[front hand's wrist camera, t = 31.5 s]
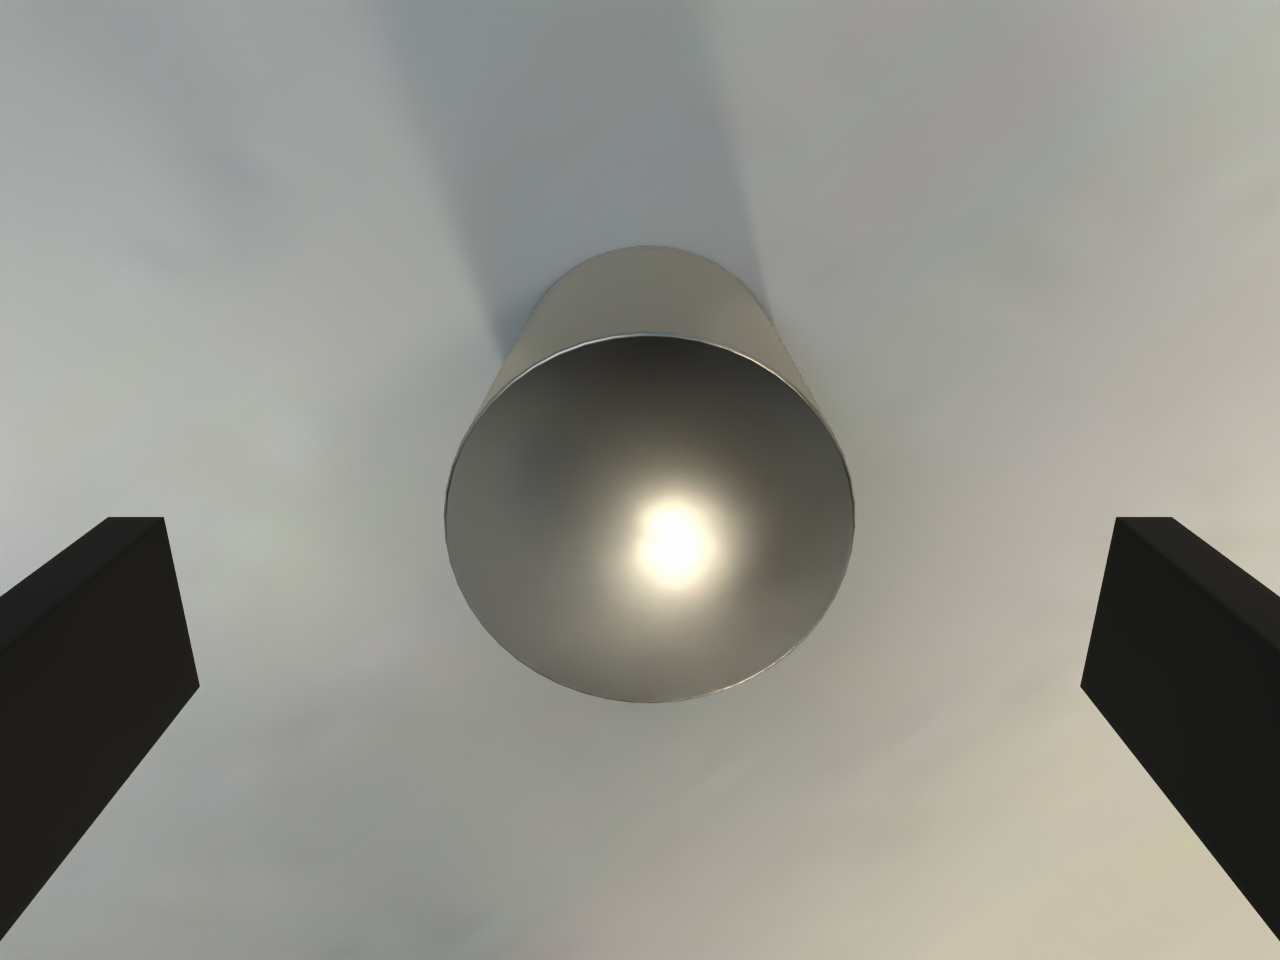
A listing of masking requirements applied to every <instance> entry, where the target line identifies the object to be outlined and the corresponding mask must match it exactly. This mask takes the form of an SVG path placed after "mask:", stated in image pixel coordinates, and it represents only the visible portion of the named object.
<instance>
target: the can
mask: <svg viewBox="0 0 1280 960" xmlns="http://www.w3.org/2000/svg"><path fill="white" fill-rule="evenodd" d="M444 526H445V540H446V545H447V550H448V555H449V559H450V564H451V566H452V569H453V572H454V575H455V578H456V580H457V583H458V586H459V588H460V590H461V591H462V593H463V595H464V597H465V599H466V601H467V603H468V605H469V607H470V608H471V610H472V611H473V613H474V614H475V615H476V617H477V618H478V620H479V621H480V623H481V624H482V625H483V627H484V628H485V629H486V630H487V631H488V632H489V633H490V634H491V636H492V637H493V638H494V639H495V640H496V641H497V642H498V643H499V644H500V645H501V646H502V647H503V648H504V649H506V650H507V651H508V652H509V653H510V654H511V655H513V656H514V657H515V658H516V659H517V660H519V661H520V662H522V663H523V664H525V665H526V666H528V667H529V668H531V669H532V670H534V671H535V672H537V673H538V674H540V675H542V676H544V677H546V678H548V679H550V680H552V681H554V682H556V683H558V684H560V685H563V686H565V687H568V688H571V689H573V690H576V691H579V692H581V693H585V694H589V695H593V696H597V697H601V698H605V699H611V700H618V701H625V702H639V703H661V702H674V701H682V700H688V699H693V698H698V697H703V696H707V695H710V694H713V693H717V692H720V691H723V690H726V689H729V688H731V687H733V686H736V685H738V684H740V683H743V682H745V681H747V680H750V679H751V678H753V677H755V676H757V675H758V674H760V673H762V672H763V671H765V670H767V669H769V668H770V667H772V666H773V665H774V664H776V663H777V662H778V661H780V660H781V659H782V658H784V657H785V656H786V655H788V654H789V653H790V652H791V651H792V650H793V649H795V648H796V647H797V646H798V645H799V644H800V643H801V642H802V641H803V640H804V639H805V638H806V637H807V636H808V635H809V634H810V632H811V631H812V630H813V629H814V627H815V626H816V625H817V624H818V622H819V621H820V620H821V619H822V618H823V616H824V614H825V613H826V611H827V609H828V608H829V606H830V604H831V603H832V601H833V600H834V598H835V596H836V594H837V592H838V589H839V587H840V585H841V583H842V580H843V578H844V576H845V573H846V570H847V566H848V563H849V559H850V556H851V552H852V546H853V538H854V531H855V501H854V495H853V488H852V482H851V477H850V474H849V471H848V467H847V464H846V461H845V458H844V455H843V452H842V450H841V448H840V446H839V444H838V442H837V440H836V438H835V436H834V434H833V432H832V430H831V428H830V426H829V425H828V423H827V421H826V419H825V417H824V416H823V414H822V412H821V410H820V408H819V407H818V405H817V403H816V401H815V400H814V398H813V396H812V394H811V392H810V391H809V389H808V387H807V385H806V384H805V382H804V380H803V378H802V376H801V375H800V373H799V371H798V369H797V367H796V366H795V364H794V362H793V360H792V359H791V357H790V355H789V353H788V351H787V350H786V348H785V346H784V344H783V343H782V341H781V339H780V337H779V335H778V334H777V332H776V330H775V328H774V326H773V325H772V323H771V321H770V319H769V318H768V316H767V314H766V312H765V311H764V309H763V308H762V306H761V305H760V303H759V302H758V300H757V299H756V298H755V296H754V295H753V294H752V293H751V292H750V291H749V290H748V289H747V287H746V286H745V285H744V284H743V283H741V282H740V281H739V280H738V279H737V278H736V277H734V276H733V275H732V274H731V273H730V272H728V271H726V270H725V269H723V268H722V267H720V266H719V265H717V264H715V263H714V262H711V261H709V260H707V259H705V258H703V257H701V256H698V255H695V254H692V253H689V252H686V251H682V250H678V249H672V248H666V247H649V246H642V247H632V248H624V249H620V250H616V251H612V252H607V253H605V254H602V255H600V256H597V257H595V258H592V259H590V260H588V261H586V262H584V263H582V264H581V265H579V266H577V267H575V268H574V269H572V270H571V271H569V272H568V273H567V274H565V275H564V276H563V277H561V278H560V279H559V280H558V281H557V282H556V283H555V284H554V285H553V286H552V287H551V288H550V289H549V290H548V291H547V292H546V293H545V294H544V296H543V297H542V298H541V300H540V301H539V302H538V303H537V305H536V306H535V308H534V310H533V311H532V313H531V315H530V317H529V318H528V320H527V322H526V324H525V326H524V327H523V329H522V331H521V333H520V335H519V337H518V338H517V340H516V342H515V344H514V346H513V348H512V349H511V351H510V353H509V355H508V357H507V359H506V361H505V362H504V364H503V366H502V368H501V370H500V372H499V373H498V375H497V377H496V379H495V381H494V383H493V385H492V386H491V388H490V390H489V392H488V394H487V396H486V397H485V399H484V401H483V403H482V405H481V407H480V409H479V410H478V412H477V414H476V416H475V418H474V420H473V421H472V423H471V425H470V427H469V429H468V431H467V432H466V434H465V436H464V438H463V440H462V442H461V444H460V446H459V449H458V451H457V454H456V456H455V459H454V462H453V464H452V467H451V471H450V475H449V479H448V484H447V488H446V495H445V507H444Z"/></svg>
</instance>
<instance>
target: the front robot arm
mask: <svg viewBox="0 0 1280 960" xmlns="http://www.w3.org/2000/svg"><path fill="white" fill-rule="evenodd" d="M199 687H200V685H199V681H198V676H197V671H196V667H195V662H194V657H193V652H192V648H191V643H190V638H189V634H188V629H187V624H186V619H185V615H184V610H183V605H182V601H181V596H180V591H179V587H178V582H177V577H176V572H175V568H174V563H173V558H172V554H171V549H170V544H169V539H168V535H167V530H166V525H165V521H164V517H108V518H106V519H105V520H104V521H102V522H101V523H100V524H98V525H97V526H96V527H94V528H93V529H91V530H90V531H89V532H87V533H86V534H85V535H83V536H82V537H81V538H79V539H78V540H77V541H75V542H74V543H73V544H71V545H70V546H68V547H67V548H66V549H64V550H63V551H62V552H60V553H59V554H58V555H56V556H55V557H54V558H52V559H51V560H50V561H48V562H47V563H45V564H44V565H43V566H41V567H40V568H39V569H37V570H36V571H35V572H33V573H32V574H31V575H29V576H28V577H26V578H25V579H24V580H22V581H21V582H20V583H18V584H17V585H16V586H14V587H13V588H12V589H10V590H9V591H8V592H6V593H5V594H3V595H2V596H1V597H0V941H1V939H2V938H3V937H4V936H5V934H6V933H7V932H8V931H9V929H10V928H11V927H12V925H13V924H14V923H15V922H16V920H17V919H18V918H19V917H20V915H21V914H22V913H23V911H24V910H25V909H26V908H27V906H28V905H29V904H30V902H31V901H32V900H33V899H34V897H35V896H36V895H37V894H38V892H39V891H40V890H41V888H42V887H43V886H44V885H45V883H46V882H47V881H48V879H49V878H50V877H51V876H52V874H53V873H54V872H55V871H56V869H57V868H58V867H59V865H60V864H61V863H62V862H63V860H64V859H65V858H66V856H67V855H68V854H69V853H70V851H71V850H72V849H73V848H74V846H75V845H76V844H77V842H78V841H79V840H80V839H81V837H82V836H83V835H84V834H85V832H86V831H87V830H88V828H89V827H90V826H91V825H92V823H93V822H94V821H95V819H96V818H97V817H98V816H99V814H100V813H101V812H102V811H103V809H104V808H105V807H106V805H107V804H108V803H109V802H110V800H111V799H112V798H113V796H114V795H115V794H116V793H117V791H118V790H119V789H120V788H121V786H122V785H123V784H124V782H125V781H126V780H127V779H128V777H129V776H130V775H131V774H132V772H133V771H134V770H135V768H136V767H137V766H138V765H139V763H140V762H141V761H142V759H143V758H144V757H145V756H146V754H147V753H148V752H149V751H150V749H151V748H152V747H153V745H154V744H155V743H156V742H157V740H158V739H159V738H160V736H161V735H162V734H163V733H164V731H165V730H166V729H167V728H168V726H169V725H170V724H171V722H172V721H173V720H174V719H175V717H176V716H177V715H178V714H179V712H180V711H181V710H182V708H183V707H184V706H185V705H186V703H187V702H188V701H189V699H190V698H191V697H192V696H193V694H194V693H195V692H196V691H197V689H198V688H199ZM1080 687H1081V688H1082V689H1083V691H1084V692H1085V693H1086V694H1087V696H1088V697H1089V698H1090V699H1091V701H1092V702H1093V703H1094V705H1095V706H1096V707H1097V708H1098V710H1099V711H1100V712H1101V714H1102V715H1103V716H1104V717H1105V719H1106V720H1107V721H1108V722H1109V724H1110V725H1111V726H1112V728H1113V729H1114V730H1115V731H1116V733H1117V734H1118V735H1119V736H1120V738H1121V739H1122V740H1123V742H1124V743H1125V744H1126V745H1127V747H1128V748H1129V749H1130V751H1131V752H1132V753H1133V754H1134V756H1135V757H1136V758H1137V759H1138V761H1139V762H1140V763H1141V765H1142V766H1143V767H1144V768H1145V770H1146V771H1147V772H1148V774H1149V775H1150V776H1151V777H1152V779H1153V780H1154V781H1155V782H1156V784H1157V785H1158V786H1159V788H1160V789H1161V790H1162V791H1163V793H1164V794H1165V795H1166V796H1167V798H1168V799H1169V800H1170V802H1171V803H1172V804H1173V805H1174V807H1175V808H1176V809H1177V811H1178V812H1179V813H1180V814H1181V816H1182V817H1183V818H1184V819H1185V821H1186V822H1187V823H1188V825H1189V826H1190V827H1191V828H1192V830H1193V831H1194V832H1195V834H1196V835H1197V836H1198V837H1199V839H1200V840H1201V841H1202V842H1203V844H1204V845H1205V846H1206V848H1207V849H1208V850H1209V851H1210V853H1211V854H1212V855H1213V856H1214V858H1215V859H1216V860H1217V862H1218V863H1219V864H1220V865H1221V867H1222V868H1223V869H1224V871H1225V872H1226V873H1227V874H1228V876H1229V877H1230V878H1231V879H1232V881H1233V882H1234V883H1235V885H1236V886H1237V887H1238V888H1239V890H1240V891H1241V892H1242V894H1243V895H1244V896H1245V897H1246V899H1247V900H1248V901H1249V902H1250V904H1251V905H1252V906H1253V908H1254V909H1255V910H1256V911H1257V913H1258V914H1259V915H1260V917H1261V918H1262V919H1263V920H1264V922H1265V923H1266V924H1267V925H1268V927H1269V928H1270V929H1271V931H1272V932H1273V933H1274V934H1275V936H1276V937H1277V938H1278V939H1279V941H1280V597H1279V596H1278V595H1277V594H1275V593H1274V592H1272V591H1271V590H1270V589H1268V588H1267V587H1266V586H1264V585H1263V584H1262V583H1260V582H1259V581H1258V580H1256V579H1255V578H1254V577H1252V576H1251V575H1249V574H1248V573H1247V572H1245V571H1244V570H1243V569H1241V568H1240V567H1239V566H1237V565H1236V564H1235V563H1233V562H1232V561H1230V560H1229V559H1228V558H1226V557H1225V556H1224V555H1222V554H1221V553H1220V552H1218V551H1217V550H1216V549H1214V548H1213V547H1212V546H1210V545H1209V544H1207V543H1206V542H1205V541H1203V540H1202V539H1201V538H1199V537H1198V536H1197V535H1195V534H1194V533H1193V532H1191V531H1190V530H1189V529H1187V528H1186V527H1184V526H1183V525H1182V524H1180V523H1179V522H1178V521H1176V520H1175V519H1174V518H1172V517H1116V521H1115V525H1114V530H1113V535H1112V539H1111V544H1110V549H1109V554H1108V558H1107V563H1106V568H1105V572H1104V577H1103V582H1102V587H1101V591H1100V596H1099V601H1098V605H1097V610H1096V615H1095V619H1094V624H1093V629H1092V634H1091V638H1090V643H1089V648H1088V652H1087V657H1086V662H1085V667H1084V671H1083V676H1082V681H1081V685H1080Z"/></svg>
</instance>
